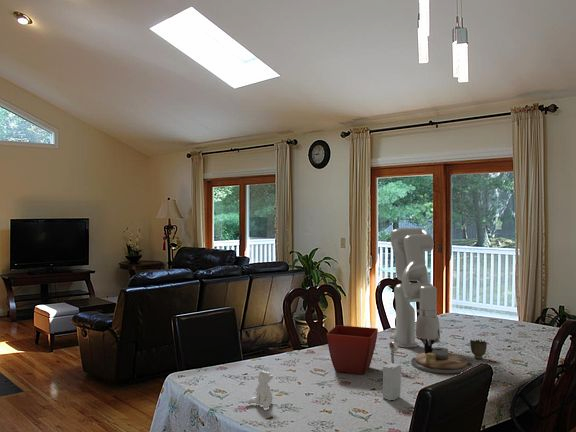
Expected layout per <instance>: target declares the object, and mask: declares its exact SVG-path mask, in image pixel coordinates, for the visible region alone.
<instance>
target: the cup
mask: <svg viewBox="0 0 576 432" xmlns="http://www.w3.org/2000/svg"><path fill="white" fill-rule="evenodd" d="M469 343H470V350H471V353H472V354H473V357H474V359H476V360H481V359H483V358H484V357H483V356H484V355H485V354H486V352H487V348H488V347H487V345H488V344H487V341H486V340H480V339H470V340H469Z"/></svg>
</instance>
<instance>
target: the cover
mask: <svg viewBox="0 0 576 432" xmlns="http://www.w3.org/2000/svg"><path fill="white" fill-rule="evenodd" d="M432 353H434V354H436V360H448V353H449V349H448V348H446V347H443V346H442V347H441V346H435V347H432Z"/></svg>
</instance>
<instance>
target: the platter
mask: <svg viewBox="0 0 576 432" xmlns="http://www.w3.org/2000/svg"><path fill="white" fill-rule="evenodd" d="M415 357H416V362H417V363H418V364H420V365H423V366H426V367H430V368H436V369H460V368H464V367H466V366H467V361H468V359H467V358H466V357H464V356H462V355H460V354H456V353H451V352H448V360H436V354H434V353H432V352H431V353H427V354H425V352H420V353H419V354H417V355H415Z"/></svg>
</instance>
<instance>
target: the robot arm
mask: <svg viewBox="0 0 576 432" xmlns="http://www.w3.org/2000/svg"><path fill="white" fill-rule="evenodd" d="M390 243H391V247H392V250H393V252H394V263H395V273H396V274H395V276H396V278H397V280H399V281H401V283H398V284H396V286H395V285H394V288H393V289H394V291H393V295H394V299H395V300H394V301H395V334H392V333H391V334H390V335H389V339H392V340H393V341H392V342H396V343H397V344H398V346H399V348H404V349H405V348H406V349H407V348H417V347H418V346H419V342H418V341H416V339H417V340H419V341H421V342H422V344H423V346H424V347H423V348H424V349H423V350H424V353H425V354H427V353H431V352H432V348H433V345H434V344H435V343H439V342H440V339H441V338H440V337H441V328H440V320H439V316H438V314H437V313H438V311H437V310H438V309H437V308H438V306H437V305H438V304H437V303H438V302H437V300H438V299H437V293H438V292H437V291H438V290H437V287H436V286H434V285H433V284H431V283H429V276H428V274H429V272H428V269H427V266H426V259H425V258H426V257H425V253H424V252H431V251H433V249H434V245H435V243H434V239H433V236H432V235H431V234H430V233H429V232H428V231H427V230H425V228H421V227H417V228H416V227H411V228H409V227H402V228H401V227H400V228H395V229H393V230H392V231H391V233H390ZM411 281H413V282H411ZM414 281H416V282H415V283H414ZM411 303H419V309H418V308H417V309H416V311H417V313H418V314H417V317H416V313H415V312H416V311H415V308H414V307H413V306H412V305H411Z"/></svg>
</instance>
